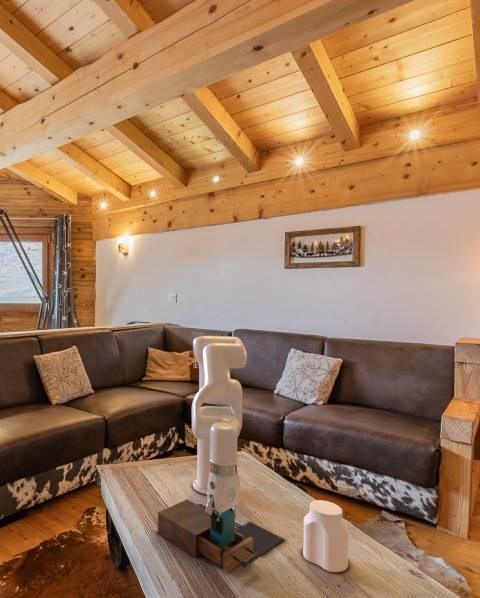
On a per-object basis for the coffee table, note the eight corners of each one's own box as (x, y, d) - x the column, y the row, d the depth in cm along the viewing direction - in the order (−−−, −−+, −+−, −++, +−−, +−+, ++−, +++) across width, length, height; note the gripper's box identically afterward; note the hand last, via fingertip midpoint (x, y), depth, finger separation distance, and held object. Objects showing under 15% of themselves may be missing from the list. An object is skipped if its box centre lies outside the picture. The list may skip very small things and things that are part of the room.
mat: (249, 523, 139) (249, 522, 139) (284, 540, 130) (284, 539, 130) (227, 536, 132) (227, 535, 132) (261, 555, 123) (261, 554, 123)
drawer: (266, 562, 118) (266, 545, 118) (239, 581, 111) (240, 563, 110) (212, 531, 133) (212, 516, 133) (185, 546, 125) (186, 530, 125)
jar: (353, 562, 120) (354, 510, 119) (337, 576, 114) (338, 521, 113) (313, 543, 129) (314, 494, 128) (297, 555, 123) (297, 504, 122)
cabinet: (225, 540, 130) (225, 519, 130) (195, 557, 122) (195, 535, 121) (186, 518, 142) (186, 499, 142) (157, 533, 134) (157, 512, 134)
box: (220, 532, 126) (221, 506, 126) (234, 540, 123) (235, 513, 122) (210, 538, 123) (210, 511, 123) (224, 547, 119) (224, 519, 119)
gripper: (215, 480, 114) (214, 546, 115) (252, 463, 124) (251, 523, 125) (193, 470, 119) (193, 533, 120) (230, 455, 130) (229, 512, 131)
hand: (222, 527), depth 123 cm, fingers closed on box, 5 cm apart
